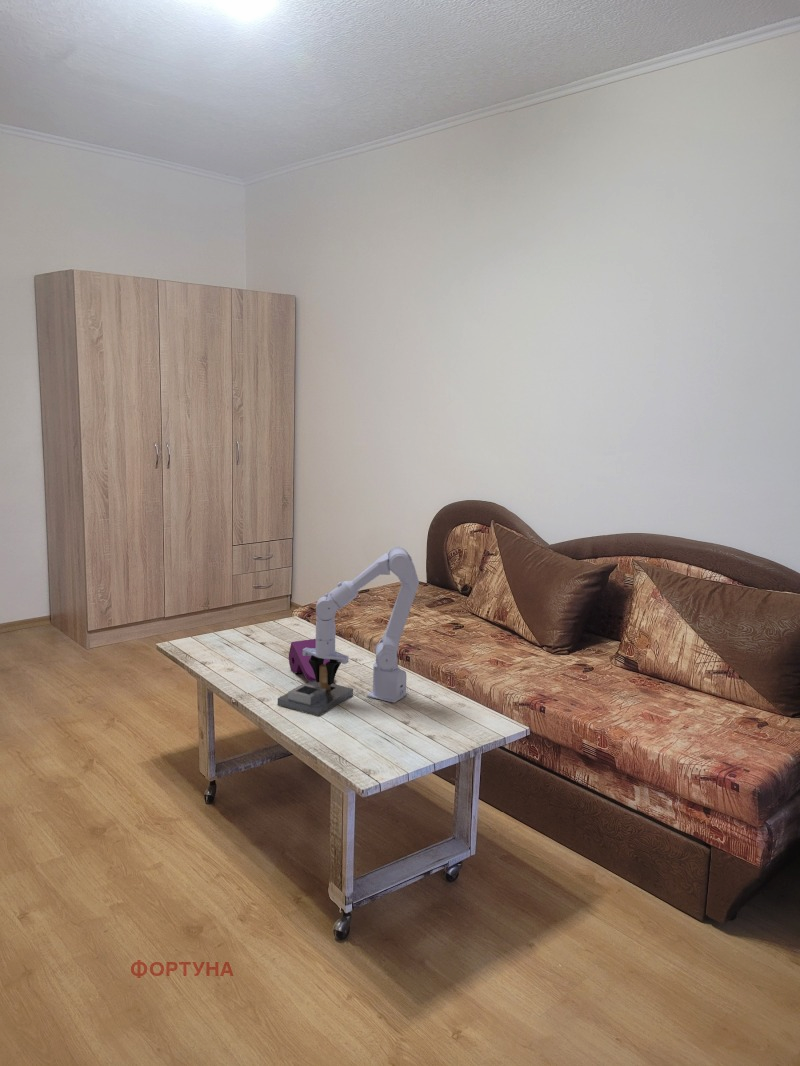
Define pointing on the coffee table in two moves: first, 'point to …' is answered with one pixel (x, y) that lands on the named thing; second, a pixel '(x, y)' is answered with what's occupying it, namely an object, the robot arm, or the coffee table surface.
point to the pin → (324, 678)
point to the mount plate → (314, 697)
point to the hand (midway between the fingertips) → (324, 682)
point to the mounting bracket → (302, 658)
